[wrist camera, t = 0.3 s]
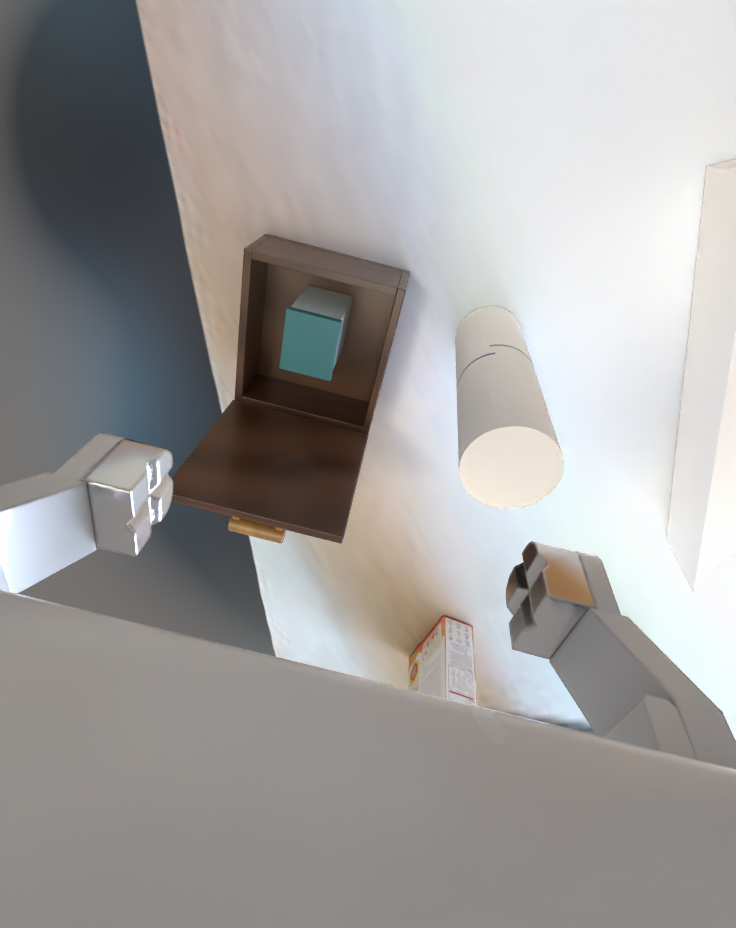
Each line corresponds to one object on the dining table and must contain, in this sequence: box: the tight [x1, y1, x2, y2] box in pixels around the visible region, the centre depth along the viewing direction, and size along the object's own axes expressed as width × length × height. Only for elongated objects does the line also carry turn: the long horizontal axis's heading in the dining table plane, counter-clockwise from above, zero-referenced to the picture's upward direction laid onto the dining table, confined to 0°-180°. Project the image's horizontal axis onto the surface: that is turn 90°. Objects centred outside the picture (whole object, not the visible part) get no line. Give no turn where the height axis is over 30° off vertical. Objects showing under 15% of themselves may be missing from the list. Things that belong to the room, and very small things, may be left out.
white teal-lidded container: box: [279, 285, 353, 381], centre depth 52 cm, size 6×5×8 cm
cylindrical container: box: [455, 306, 564, 509], centre depth 46 cm, size 7×7×25 cm
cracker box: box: [408, 616, 478, 706], centre depth 79 cm, size 14×6×21 cm, turn 158°
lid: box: [172, 400, 368, 543], centre depth 50 cm, size 17×16×5 cm
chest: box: [235, 234, 410, 434], centre depth 55 cm, size 17×16×7 cm
